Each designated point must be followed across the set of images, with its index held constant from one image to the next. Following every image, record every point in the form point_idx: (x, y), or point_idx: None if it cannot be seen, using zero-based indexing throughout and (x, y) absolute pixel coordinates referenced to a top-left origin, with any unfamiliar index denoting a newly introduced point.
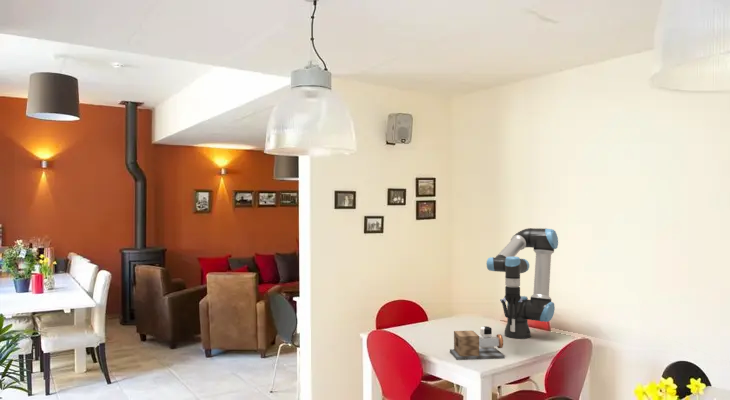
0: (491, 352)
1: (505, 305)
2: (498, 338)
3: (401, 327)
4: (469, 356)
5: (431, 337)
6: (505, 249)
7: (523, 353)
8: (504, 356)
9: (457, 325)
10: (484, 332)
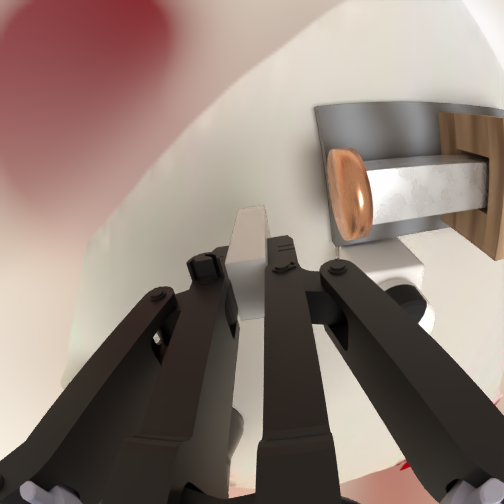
0: None
1: (457, 414)
2: (369, 170)
3: None
4: (471, 105)
5: (467, 369)
6: None
7: (198, 207)
8: (317, 106)
9: (350, 459)
10: (418, 291)
